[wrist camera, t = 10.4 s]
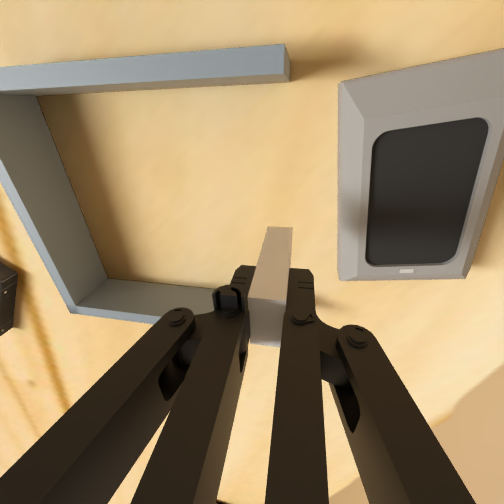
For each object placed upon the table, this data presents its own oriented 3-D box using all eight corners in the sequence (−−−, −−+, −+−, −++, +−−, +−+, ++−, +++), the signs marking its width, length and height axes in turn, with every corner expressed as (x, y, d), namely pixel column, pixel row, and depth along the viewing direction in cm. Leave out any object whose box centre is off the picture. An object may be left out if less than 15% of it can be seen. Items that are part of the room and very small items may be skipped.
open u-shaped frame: (17, 79, 21) (-59, 71, 16) (290, 60, 16) (284, 43, 12) (102, 285, 31) (70, 313, 27) (281, 304, 27) (276, 340, 23)
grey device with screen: (560, 35, 12) (475, 289, 19) (506, 50, 15) (451, 263, 22) (344, 79, 14) (341, 291, 21) (337, 84, 17) (337, 267, 24)
